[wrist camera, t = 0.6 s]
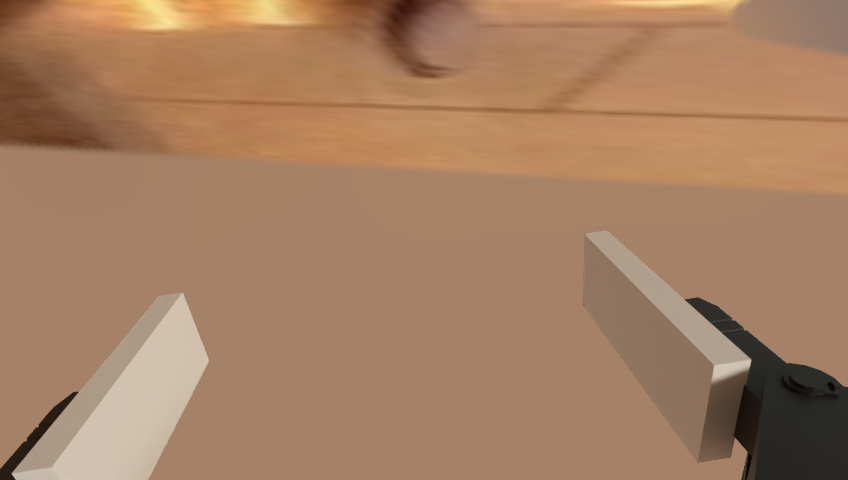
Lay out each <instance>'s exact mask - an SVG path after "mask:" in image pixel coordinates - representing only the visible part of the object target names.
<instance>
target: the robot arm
mask: <svg viewBox="0 0 848 480" xmlns="http://www.w3.org/2000/svg"><path fill="white" fill-rule="evenodd" d="M583 276H584V277H583V306H584V307H585V309H586V310H587V312H588V313H589V314H590V316H591V317H592V318H593V320H594V321H595V323H596V324H597V325H598V327H599V328H600V329H601V331H602V332H603V334H604V335H605V336H606V338H607V339H608V340H609V342H610V343H611V345H612V346H613V347H614V349H615V350H616V351H617V353H618V354H619V356H620V357H621V358H622V359H623V361H624V362H625V364H626V365H627V366H628V368H629V369H630V371H631V372H632V373H633V375H634V376H635V377H636V379H637V380H638V382H639V383H640V384H641V386H642V387H643V388H644V390H645V391H646V393H647V394H648V395H649V397H650V398H651V399H652V401H653V402H654V404H655V405H656V406H657V408H658V409H659V410H660V412H661V413H662V414H663V416H664V417H665V419H666V420H667V421H668V423H669V424H670V425H671V427H672V428H673V430H674V431H675V432H676V434H677V435H678V436H679V438H680V439H681V441H682V442H683V443H684V445H685V446H686V447H687V449H688V450H689V451H690V453H691V454H692V456H693V457H694V458H695V460H696V461H697V462H698V463H699V462H705V461H711V460H717V459H724V458H730V457H731V454H732V448H733V444H734V440H735V438H736V439H737V440H738V441H739V442H740V443H741V445H742V446H743V447H744V448H745V449H746V450H747V452H748V453H747V458H746V462H745V466H744V471H743V475H742V480H848V387H844V386H842V385H841V384H840V383H839V382H838V381H837V380H836V379H834V378H833V377H831V376H830V375H828V374H826V373H824V372H822V371H820V370H817V369H815V368H812V367H808V366H805V365H799V364H792V363H788V364H787V363H785V362H784V361H783V360H782V359H781V358H779V357H778V356H777V355H776V354H775V353H773V352H772V351H771V350H770V349H768V348H767V347H766V346H765V345H764V344H762V343H761V342H760V341H759V340H758V339H756V338H755V337H754V336H753V335H752V334H750V333H749V332H748V331H747V330H746V331H744V329H743V327H742V326H741V325H739V324H738V323H737V322H736V321H733V320H732V318H731V317H730V316H729V315H727V314H726V313H725V312H724V311H723V310H721V309H720V308H719V307H718V306H716V305H713V304H711V303H709V302H707V301H705V300H703V299H700V298H691V299H683V298H682V297H681V296H680V295H679V294H678V293H676V292H675V291H674V290H673V289H672V288H671V287H670V286H669V285H667V284H666V283H665V282H664V281H663V280H662V279H661V278H660V277H659V276H657V275H656V274H655V273H654V272H653V271H652V270H651V269H649V267H647V266H646V265H645V264H644V263H643V262H642V261H641V260H639V259H638V258H637V257H636V256H635V255H634V254H633V253H632V252H631V251H629V250H628V249H627V248H626V247H625V246H624V245H623V244H622V243H621V242H619V241H618V240H617V239H616V238H615V237H614V236H613V235H612V234H611V233H609V232H608V231H602V232H595V233H588V234H584V275H583ZM208 362H209V359H208V357H207V354H206V352H205V349H204V347H203V344H202V341H201V339H200V336H199V333H198V331H197V328H196V326H195V323H194V321H193V318H192V315H191V313H190V310H189V308H188V305H187V302H186V300H185V297H184V295H183V293H175V294H168V295H161V296H158V297H157V298H156V300H155V301H154V302H153V303H152V304H151V306H150V307H149V308H148V309H147V310H146V312H145V313H144V314H143V315H142V317H141V318H140V319H139V320H138V321H137V323H136V324H135V325H134V326H133V327H132V329H131V330H130V331H129V332H128V334H127V335H126V336H125V337H124V338H123V340H122V341H121V342H120V343H119V344H118V346H117V347H116V348H115V349H114V350H113V352H112V353H111V354H110V355H109V356H108V358H107V359H106V360H105V361H104V362H103V364H102V365H101V366H100V367H99V369H98V370H97V371H96V372H95V373H94V375H93V376H92V377H91V378H90V379H89V381H88V382H87V383H86V384H85V385H84V387H83V388H82V389H81V390H80V391H79V392H73V393H72V394H71V395H69V396H68V397H67V398H65V399H64V400H63V401H62V402H60V403H59V404H58V405H56V406H55V407H54V408H53V409H52V410H51V411H50V412H49V413H48V414H47V415H46V417H45V418H44V419H43V420H42V421H41V423H40V424H39V427H38V428H35V429H34V431H33V432H32V433H31V434H30V435H29V436H28V438H27V441H26V442H24V443H22V445H21V446H20V447H19V448H18V449H17V450H16V451H15V453H14V454H13V455H12V456H11V457H10V458H9V460H8V461H7V462H6V463H5V464H4V465H3V467H2V468H1V469H0V480H148V479H149V477H150V475H151V473H152V471H153V469H154V467H155V465H156V463H157V461H158V459H159V457H160V455H161V453H162V451H163V449H164V448H165V445H166V444H167V442H168V440H169V438H170V436H171V434H172V432H173V430H174V428H175V426H176V424H177V422H178V420H179V418H180V416H181V415H182V412H183V410H184V409H185V407H186V405H187V403H188V401H189V399H190V397H191V395H192V393H193V391H194V389H195V387H196V385H197V383H198V381H199V379H200V377H201V376H202V374H203V372H204V370H205V367H206V366H207V364H208Z"/></svg>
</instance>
